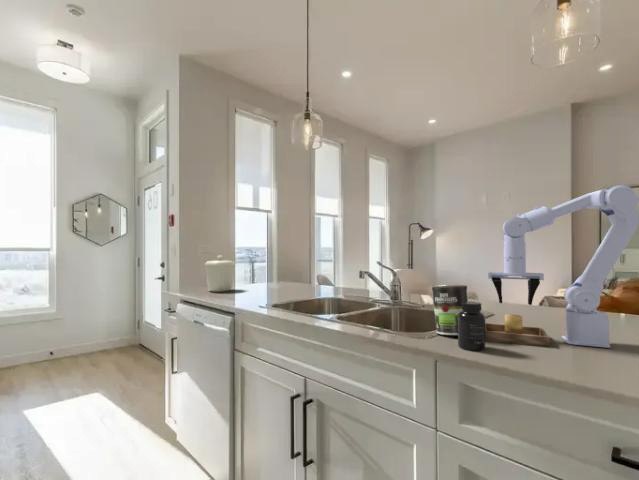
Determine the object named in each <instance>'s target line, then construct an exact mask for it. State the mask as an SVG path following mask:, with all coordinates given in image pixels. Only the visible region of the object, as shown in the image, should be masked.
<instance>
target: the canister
mask: <svg viewBox="0 0 639 480" xmlns="http://www.w3.org/2000/svg"><path fill="white" fill-rule="evenodd" d="M216 259H217V260H215V259H214V260H208V261H206V262H205V263H203V265H204V266H205V274H206V275H205V278H206V285H207V289H208V291H210V292H212V293H215V292H216V293H222V292H223V293H224V292H229V291H231V290H232V287H233V281H234V274H235V265H236V262H234V260H227V259H224V256H223V255H220V254H219V255H217V256H216Z"/></svg>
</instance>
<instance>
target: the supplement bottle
mask: <svg viewBox="0 0 639 480" xmlns="http://www.w3.org/2000/svg"><path fill="white" fill-rule="evenodd" d="M461 309H462V310H463V311H462V312H460V313H459V314H458V335H457V346H458V347H459V348H460V349H463V350H466V351H472V352H481V351H484V350H485V349H486V348H487V347H486V346H487V345H486V344H487V341H486V323H487V322H486V316H485V314H483V313H482V312H481V311H482V303H481V302H479V301H469V300H468V301H465V302H462V307H461Z"/></svg>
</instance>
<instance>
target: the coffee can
mask: <svg viewBox="0 0 639 480" xmlns="http://www.w3.org/2000/svg"><path fill="white" fill-rule="evenodd" d="M431 290H432V299H433V311H434V320H435V333H436V334H438V335H442V336H458V314H459V313H460V312H462V311H463V310H462V309H461V307H462V302H465V301H469V298H468V297H469V296H468V285H466V284H465V285H463V284H462V285H459V284H458V285H440V286H432V287H431Z"/></svg>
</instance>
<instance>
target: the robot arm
mask: <svg viewBox="0 0 639 480" xmlns="http://www.w3.org/2000/svg"><path fill="white" fill-rule="evenodd" d="M582 209H591V210H595V209H598V210H599V211H600V212H601V213H603V214H604V215H605V216H606V217H607V218H608V221H609V222H610V224H611V226H610V228H609V229H608V231H607V232H606V234H605V236H604V238H603V239H602V241H601V243H600V245H599V246H598V248H597V249H596V251H595V253H594V254H593V255H592V258H591V259H590V261H589V262H588V264H587V265H586V267H585V269H584V270H583V272H582V274H581V275H580V276H579V277H578V278H577V279H576V280H575V281H574V282H573V283H572V285H570V286H568V287H566V288H565V290H564V293H563V298H564V301H565V302H566V303H567V305H566V307H565V335H561V338H562V340H564V341H565V342H566V344H568V345H573V346H574V345H575V346H587V347H596V348H607V349H610V348H611V345H610V319H609V316H608V314H607V313H606V312H603V311H602V312H599V311H598V308H599V306H600V304H601V295H602V293H603V291H604V283H605V281H606V279H607V277H608V276H609V274H610V273H611V272H612V269H613V268H614V267H615V266H616V265H615V264H616V263H617V262H618V260H619V258H620V257H621V255H622V254H623V252H624V250H625V249H626V247H627V245H628V244H629V242H630V240H631V239H632V237H633V235H634V234H635V232H636V231H637V229H638V227H639V196H638V195H637V194H636V192H635V190H634V189H633V188H632V187H630V186H628V185H624V184H618V185H614V186H612V187H610V188H609V189H608V188H603V189H599V190H596V191H593V192H589V193H586V194H584V195H581V196H578V197H575V198H573V199H571V200H568V201H566V202H564V203H561V204H558V205H556V206H553V207H548V206H544V205H542V206H539V205H537V206H535V207H533V210H530V211H528V212H525V213H523V214H522V213H518V214H516V216H512V217H511V218H509V219H507V220H506V221H505V222H504V223H503V225H502V229H501V230H502V233H503V234H504V237H503V241H504V242H503V271H488V272H487V279H491V281H492V283H493V285H494V287H495V290H496V293H497V296H498V303H499V304H503V295H502V290H503V289H502V285H503V283H502V279H503V280H527V288H528V289H527V290H528V293H527V304H528V305H530V306H532V304H533V301H534V296H535V294H536V292H537V289H539V288H538V287H539V286H540V284H541V281H544V280H545V276H544V275H545V274H544V273H542V272H527V267H526V264H527V261H526V259H527V256H526V253H527V252H526V251H527V250H526V242H525V240H526V239H525V234H526V233H532V232H534V231H537V230H540V229H543V228H545V227H547V226H549V227H550V226H551V225H553V224H554V223H555V222H554V221H555V220H556V219H557V218H559V217H562V216H565V215H568V214H571V213H573V212H576V211H580V210H582Z"/></svg>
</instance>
